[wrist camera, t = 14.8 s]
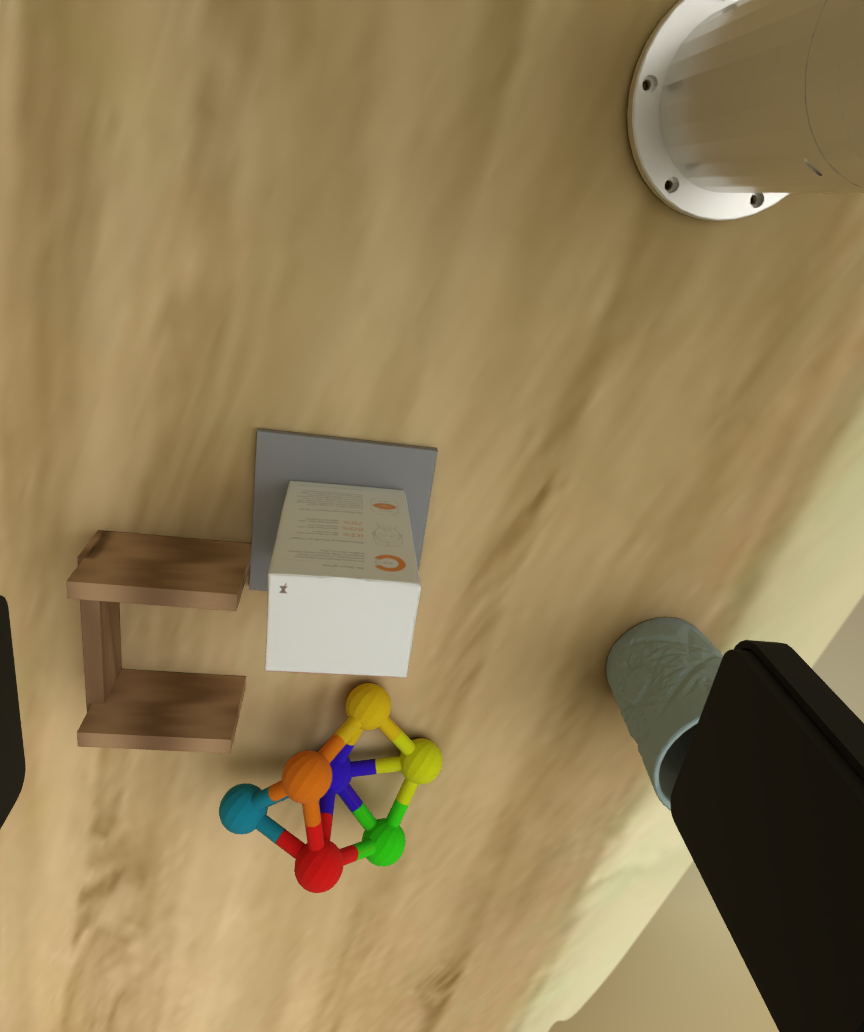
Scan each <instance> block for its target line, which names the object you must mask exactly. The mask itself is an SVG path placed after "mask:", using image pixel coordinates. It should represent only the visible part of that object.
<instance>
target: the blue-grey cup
mask: <svg viewBox="0 0 864 1032" xmlns="http://www.w3.org/2000/svg"><path fill="white" fill-rule="evenodd" d="M722 658H723V656H722V654H721V652H720V651H719V650H718V649H717V648H716V647H715V646H714V645H713V644H712V643H711V642H710V641H709V640H708V639H707V638H706V637H705V636H704V635H703V633H702V632H700V631H699V630H698V629H697V628H696V627H695V626H693V625H691V624H690V623H688V622H686V621H684V620H681V619H679V618H669V617H663V618H659V617H657V618H654V619H652V620H647V621H645V622H642V623H640V624H638V625H636V626H635V627H633V628H631V629H630V630H628V631H627V632H626V633H625V634H623V635H622V636H621V638H619V639H618V640H617V641H616V642H615V644H614V645H613V647H612V648H611V650H610V653H609V655H608V659H607V664H606V673H607V679H608V682H609V685H610V688H611V690H612V692H613V695H614V697H615V699H616V702H617V704H618V706H619V708H620V710H621V712H622V716H623V718H624V721H625V723H626V724H627V728H628V730H629V732H630V735H631V736H632V737H633V738H634V740H635V741H636V742H637V744H638V751H639V753H640V755H641V756H642V760H643V762H644V765H645V767H646V770H647V772H648V775H649V777H650V780H651V782H652V785H653V787H654V790H655V792H656V794H657V796H658V798H659V799H660V801H661V802H662V803H663V805H664V806H666V807H667V808H668V809H669V810H671V805H670V800H671V794H672V790H673V787H674V785H675V782H676V779H677V777H678V774H679V772H680V769H681V766H682V764H683V761H684V758H685V756H686V753H687V750H688V748H689V745H690V742H691V740H692V737H693V734H694V732H695V729H696V726H697V724H698V721H699V719H700V716H701V713H702V711H703V708H704V705H705V703H706V700H707V697H708V695H709V692H710V689H711V687H712V684H713V681H714V679H715V676H716V673H717V671H718V668H719V666H720V663H721V660H722Z"/></svg>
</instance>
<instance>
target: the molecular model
mask: <svg viewBox="0 0 864 1032" xmlns="http://www.w3.org/2000/svg"><path fill="white" fill-rule="evenodd" d="M390 711H391V700H390V697H389V695H388V693H387V692H386V690H384V689H383V688H382V687H381V686H379V685H377V684H373V683H365V684H361V685H359V686H357V687H356V688H354V689H353V690H352V691H351V693H350V694H349V696H348V698H347V701H346V714H347V717H348V719H347V720H346V721H345V722H344V723H343V724H342V726H341V727H340V728H339V729H338V730H337V731H336V732H335V733H334V735H333V736H332V737H331V738H330V739H329V740H328V741H327V743H326V744H325V745H324V746H323V747H322V748H321V749H320V750H319V752H315V751H302V752H299V753H297V754H295V755H294V756H292V757H291V758H290V759H289V761H288V762H287V763H286V765H285V767H284V770H283V774H282V780H281V781H279V782H277V783H275V784H273V785H271V786H269V787H268V788H266V789H264V790H261V789H260V788H259V787H257V786H255V785H252V784H239V785H236V786H234V787H232V788H231V789H230V790H229V791H228V792H227V793H226V794H225V796H224V797H223V799H222V801H221V804H220V807H219V816H220V819H221V822H222V824H223V825H224V827H225V828H226V829H227V830H229V831H230V832H232V833H235V834H247V833H250V832H252V831H253V830H255V829H257V830H258V831H259V832H261V833H262V834H263V835H265V836H266V837H267V838H269V839H270V840H271V841H273V842H274V843H275V844H277V845H278V846H279V847H281V848H282V849H283V850H284V851H286V852H287V853H288V854H290V855H291V856H292V857H294V858H295V859H296V861H295V876H296V878H297V881H298V883H299V884H300V885H301V886H302V887H303V888H304V889H306V890H307V891H309V892H313V893H321V892H325V891H327V890H329V889H331V888H332V887H333V886H334V885H335V884H336V883H337V881H338V880H339V878H340V876H341V874H342V871H343V866H344V865H346V864H349V863H352V862H354V861H357V860H360V859H362V858H365V857H366V858H367V859H368V860H369V861H370V862H371V863H372V864H375V865H377V866H389V865H391V864H394V863H395V862H396V861H397V860H398V859H399V858H400V857H401V855H402V853H403V851H404V847H405V834H404V832H403V830H402V828H401V827H400V823H401V820H402V818H403V816H404V814H405V812H406V810H407V807H408V805H409V803H410V801H411V799H412V797H413V794H414V792H415V790H416V788H417V786H418V784H427V783H429V782H431V781H432V780H434V779H435V778H436V777H437V776H438V774H439V772H440V770H441V767H442V754H441V752H440V749H439V748H438V746H437V745H436V744H435V743H433V742H432V741H430V740H428V739H423V738H419V739H414V740H412V741H411V739H410V738H409V737H408V736H407V735H406V734H405V733H404V732H403V731H402V730H401V729H400V728H399V727H398V726H397V725H396V724H395V723H394V722H393V721H392V719H391V718H390V717H389V715H390ZM376 728H379V729H380V730H381V731H382V732H383V733H384V734H385V735H386V736H387V737H388V738H389V739H390V740H391V741H392V742H393V743H394V744H395V746H396V747H397V748H398V749H399V750H400V751H401V754H400V756H395V757H387V758H378V759H370V760H361V761H353V762H351V761H350V759H349V758H348V755H349V754H350V752H351V750H352V749H353V747H354V745H355V744H356V742H357V740H358V738H359V737H360V735H361V733H362V732H363V730H373V729H376ZM398 771H402V774H403V775H404V777H405V780H404V782H403V784H402V786H401V788H400V790H399V793H398V795H397V797H396V799H395V801H394V803H393V806H392V808H391V810H390V812H389V814H388V816H387V819H386V818H383V819H378V820H376V819H375V818H374V816H373V815H372V814H371V812H370V811H369V810H368V808H367V807H366V806H365V804H364V803H363V802H362V800H361V799H360V798H359V796H358V795H357V794H356V792H355V791H354V790H353V788H352V787H351V786H350V784H349V782H350V780H351V778H352V777H355V776H364V775H372V774H381V773H389V772H398ZM337 793H338V795H339V796H340V797H341V799H342V800H343V801H344V803H345V804H346V805H347V807H348V808H349V809H350V811H351V812H352V813H353V815H354V816H355V817H356V819H357V820H358V821H359V823H360V824H361V825H362V827H363V828H364V829H365V831H364V833H363V837H362V842H359V843H356V844H353V845H350V846H347V847H345V848H342V849H339V848H338V847H337V846H336V845H335V844H334V843H333V842H331V841H330V836H331V827H332V819H333V810H334V801H335V794H337ZM287 798H290V799H292V800H293V801H295V802H298V803H302V805H303V813H304V820H305V827H306V835H307V842H308V843H307V844H304V843H303V842H302V841H300V840H299V839H298V838H296V837H295V836H294V835H292V834H291V833H290V832H288V831H287V830H286V829H284V828H283V827H282V826H280V825H279V824H278V823H276V822H275V821H274V820H272V819H271V818H270V817H268V816H267V815H266V814H267V809H268V807H269V806H271V805H273V804H276V803H278V802H280V801H283V800H285V799H287ZM319 799H320V801H319Z"/></svg>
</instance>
